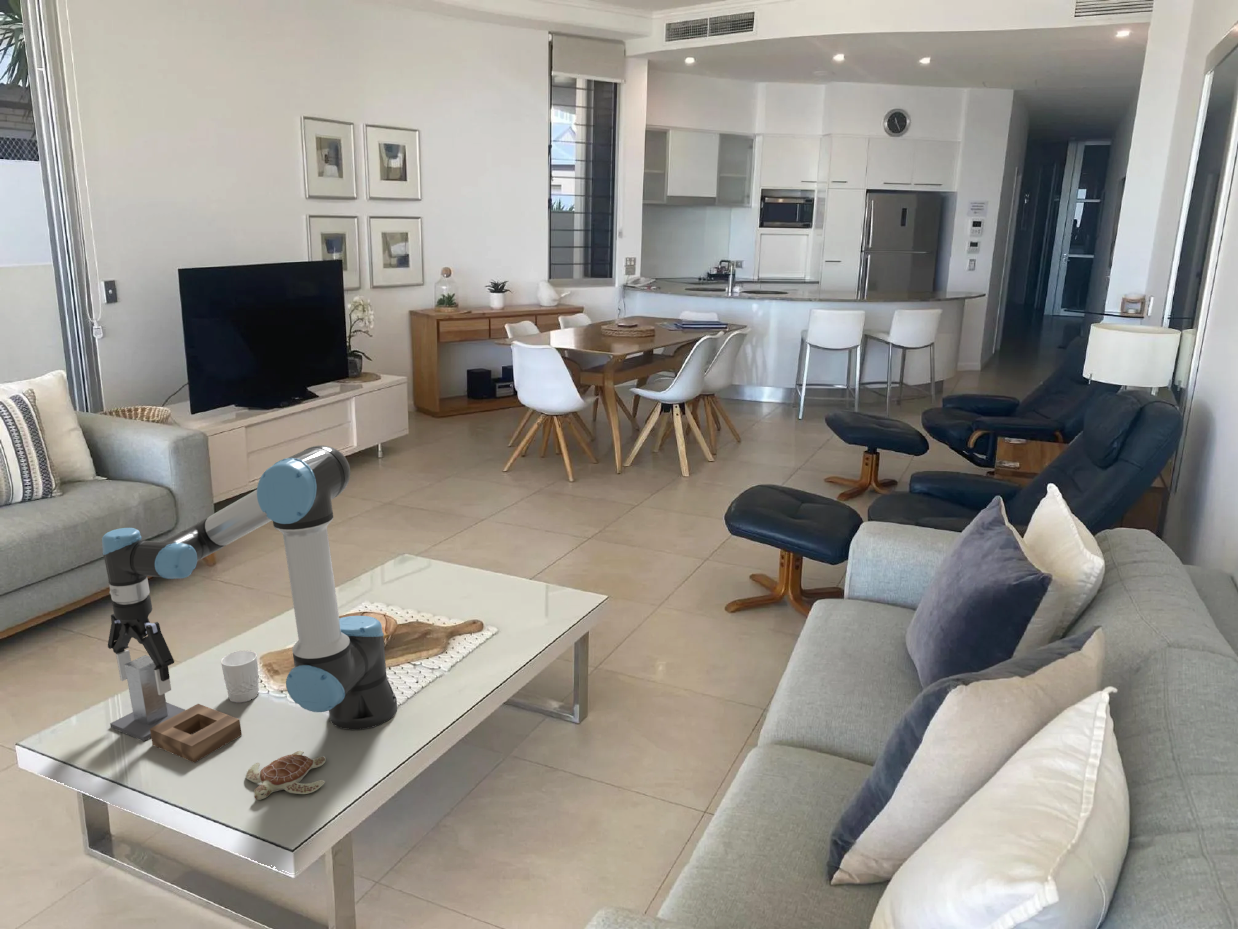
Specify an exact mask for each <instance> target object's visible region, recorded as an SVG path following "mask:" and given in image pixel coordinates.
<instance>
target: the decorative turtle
mask: <svg viewBox="0 0 1238 929" xmlns="http://www.w3.org/2000/svg"><path fill="white" fill-rule="evenodd" d="M326 759H327V758H326V757H325V756H319V757H318V756H317V757H316V758H313V759H312V758H310V757H309V756H306V755H304V751H303V750H298V751H296V752H294V753H292V754H287V755H285V756H281V757H279V758H277V759H275V760H273V761H271V762H270V763H269V764H268V765H266V766H264V767H263V768H262V769H261V770H260V771H259V768H260V765H261V764H260V762H255V763H254V764H253V765H251V766H250V767H249V768H248V770H247V771H246V774H245V779H247V780H248V781H249V782H252V783H255V784H259V785H258V786H257V787H256V788H254V790H253V793H254V799H255V800H258V801H260V800H261V801H262V800H263V799H266V798H267V797H269V796H270V795H271V794H272V793H274V792H278V791H283V790H285V791H286V793H290V794H298V795H306V794H307V795H308V794H311V793H315V792H316V791H317V790H319V789H320V788H321V787H322V786H324V784H325V783H326V781H324V780H323V779H320V780H317V781H313V782H308V783H302V782H301V781H302V780H303V779H304V777H305V776H306V775H307V774H308V773H309V771H310V770H312V769H317V768H320V767H322V766H323V765H324V764H325V762H326V761H327V760H326Z"/></svg>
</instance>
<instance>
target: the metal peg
mask: <svg viewBox="0 0 1238 929" xmlns="http://www.w3.org/2000/svg"><path fill="white" fill-rule="evenodd" d="M155 667H156V665H155V664H154V662H153V661H152V659H151V657H150V656H149V655H146V654H145V655H142V656H139V657H138V658H135V659H133V660H131V662H128V663H126V664H125V670H126V675H127V679H126V680H127V687H128V693H129V698H130V703H131V708H132V709H131V710H132V712H133V716H134V720H135V721H138V722H140V723H142V724H145V725H147V726H149V725H151V724H152V723H154V722H156V721H158V720H160V719H162V718H164V717H166V716H168V711H167V705H166V702H167V700H166V693H164V694H162V695H158V690H157V684H156V678H155V672H154V668H155Z"/></svg>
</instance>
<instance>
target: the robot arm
mask: <svg viewBox="0 0 1238 929" xmlns="http://www.w3.org/2000/svg"><path fill="white" fill-rule="evenodd" d="M350 466H351V465H350V463H349V462H348V459H347V458H346V456H345V455H344V454H343V453H342V452H341V451H340V450H338V449H336V448H334V447H333V446H332V447H331V446H329V445H322V444H321V445H314V446H311V447H308V448H306V449H304V450H302V451H299V452H298V453H295V454H294V455H291V456H289V457H287V458H283V459H281V460H279V461H277V462H275V463H274V464H272V466H270V467H268V468H267V469H266V470H265V471H263V473H262V474H261V476H260V477H259V480H258V482H257V485H256V486H257V487H256V489H255V490H253V491H252V492H249V493H248V494H246V495H245V496H243V497H241V498H239V499H238V500H236V501H234V502H232V503H230V504H229V505H227V506H224V508H222V509H220V510H217V512H215V513H213V514H211V515H210V516H208V517H206V518H203V519H202V520H199V521H198V522H196V523H195V524H193V525H191V526H189V527H188V528H186V529H184V530H182V531H179V532H178V533H176V534H173V535H171V536H169V537H168V538H165V539H164V540H161V541H153V540H152V541H150V540H143V539H142V537H143V536H141V532H140V530H139V529H136V528H134V527H122V528H117V529H115V528H114V529H113V530H110V531H108V532H106V533H105V534H104V535H103V536H102V537H101V544H102V545H101V546H102V556H103V559H104V564H105V565H104V566H105V570H106V574H107V580H108V584H109V595H110V597H111V601H112V604H111V606H112V611H113V614H110V620H111V621H110V622H111V625H110V630H109V634H108V640H107V648H108V649H109V650H110V649H111V650H112V651H113V653H114V654H115V657H116V662H117V669H118V674H119V679H120V681H122V682H123V681H126V680H127V675H126V670H125V664H126V663H128V662H131V661H132V658H131V655H130V654H131V653H130V649H129V648H130V647H129V643H130V642H131V639H132V638H133V639H134V640H136V641H137V642H138V644H139V645H142V647H144V649H145V652H146V653H147V654H148V656H150V657H151V659H152V661H153V662H154V664H155V665H156V667H155V668H154V672H155V678H156V684H157V690H158V695H162V694H164V693H165V694H166V693H169V692H170V691H172V686H171V679H170V678H171V677H170V670H169V666H171V665H173V664H175V659H174V657H173V655H172V653H171V650H170V649H169V646H168V644H167V642H166V640H165V638H164V635H163V633H162V630H161V626H160V623H159V622H158V621H155V622H153V623H152V622H150V619H149V615H150V614H151V613H152V611H153V604H152V598H151V595H150V593H151V592H150V585H149V580H148V577H152V578H153V577H154V578H162V579H168V580H170V579H171V580H174V579H186V578H188V577H189V576H191V575H192V573H193V571H194V570H195V569H196V567H197V564H198V562H199V561H200V560H202V559H204V558H206V557H208V556H210V555H211V554H214V553H216V552H217V551H219V550H221V549H223V548H224V547H226V546H228V545H230V544H232V543H234V542H235V541H237V540H239V539H240V538H243V537H245V536H246V535H248V534H250V533H252V532H253V531H255V530H257V529H259V528H260V527H263V526H265V525H266V524H268V523H270V522H272V525H273V528H274V529H275V530H277V531H279V532H280V533H281V534H282V538H283V539H282V540H283V544H284V545H283V546H284V551H285V552H284V553H285V557H286V558H285V559H286V565H287V571H288V578H289V579H288V580H289V584H290V591H291V597H292V603H293V604H292V605H293V612H294V619H295V623H296V631H297V638H298V640H296V642H295V643H294V645H293V646H292V649H291V650H292V651H291V652H292V658H293V664H294V665H293V666H294V667H293V668H291V670H290V671H289V672H288V674H287V676H286V679H285V680H286V681H285V687H286V691H287V693H288V694H289V697H290V698H291V700H292V701H294V703H296V704H298V706H300V707H301V708H302V709H304V710H306V711H309V712H311V713H326V712H328V715H329V721H330V722H331V724H332V725H333V726H334V727H337V728H340V729H344V730H348V731H349V730H351V731H352V730H353V731H355V730H356V731H357V730H367V729H371V728H374V727H378V726H380V725H383V724H385V723H386V722H388V721H389V720H390V719H392V718H393V717H394V715H395V714H396V713H397V710H398V703H397V702H398V701H397V697H396V694H395V693H394V691H393V688H392V686H391V684H390V682H389V680H388V677H387V667H386V666H387V664H386V663H387V662H386V655H385V653H386V652H385V651H386V650H385V641H384V636H385V634H384V632H383V627H382V622H381V621H380V620H378V619H377V618H376V617H373V616H369V615H350V616H349V615H348V616H344V617H343V616H342V617H340V614H339V613H340V612H339V608H338V599H337V593H336V584H335V576H334V569H333V563H332V556H331V555H332V554H331V548H330V540H329V539H330V538H329V532H328V526H329V525H330V524H331V522H333V520H334V513H333V503H332V500H334V499H336V498H337V497H338V496H339V495H341V494H342V493H343V492H344V491H345V489H346V488H347V486H348V484H349V482H350V480H351V468H350Z"/></svg>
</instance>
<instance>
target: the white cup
mask: <svg viewBox="0 0 1238 929" xmlns="http://www.w3.org/2000/svg"><path fill="white" fill-rule="evenodd" d="M220 663H221V668H222V673H223V679H224V683H225V688H226V690H227V695H228V699H229V701H230V702H232V703H235V704H236V703H238V704H239V703H247V702H249V701H252V700H254V699H255V697H256V696H257V694H258V691H259V692H260V688H259V683H260V682H259V681H260V680H259V667H258V665H259V664H258V655H257V652H255V651H252V650H236V651H233V652H230V653H228V654H226V655H224V656H223V657H222V658H221V660H220ZM258 695H259V694H258ZM257 697H258V696H257ZM257 697H256V698H257ZM251 699H252V700H251Z"/></svg>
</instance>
